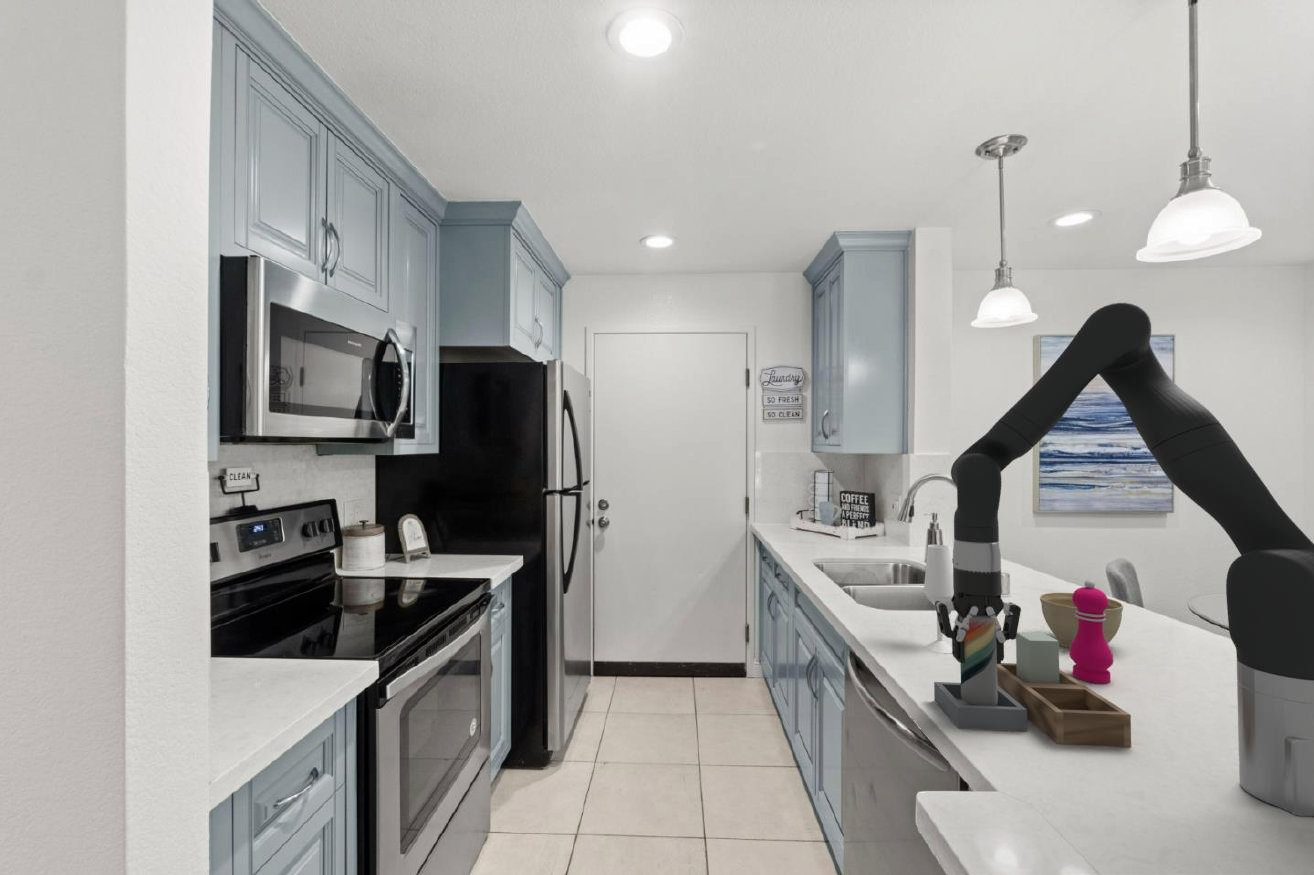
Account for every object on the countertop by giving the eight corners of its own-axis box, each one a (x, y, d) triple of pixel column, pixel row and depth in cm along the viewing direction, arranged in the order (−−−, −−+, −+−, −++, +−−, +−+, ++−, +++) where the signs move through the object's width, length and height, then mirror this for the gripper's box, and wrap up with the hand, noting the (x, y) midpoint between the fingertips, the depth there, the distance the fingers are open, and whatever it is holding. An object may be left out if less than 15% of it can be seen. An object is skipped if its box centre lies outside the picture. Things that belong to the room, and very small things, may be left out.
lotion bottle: (965, 692, 109) (963, 582, 109) (1000, 700, 105) (998, 586, 106) (957, 702, 105) (955, 588, 105) (994, 711, 101) (991, 592, 101)
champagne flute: (918, 646, 141) (917, 545, 142) (935, 642, 145) (934, 543, 145) (945, 655, 136) (943, 549, 136) (962, 649, 139) (960, 546, 140)
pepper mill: (1121, 686, 118) (1119, 584, 118) (1080, 683, 119) (1078, 583, 119) (1101, 672, 125) (1100, 576, 125) (1063, 670, 126) (1061, 575, 127)
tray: (1027, 731, 99) (1027, 709, 99) (958, 728, 100) (958, 707, 100) (996, 703, 110) (996, 683, 110) (934, 700, 111) (934, 681, 111)
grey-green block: (1059, 707, 108) (1058, 641, 108) (1030, 706, 108) (1029, 640, 109) (1044, 696, 113) (1043, 632, 113) (1016, 695, 113) (1015, 632, 114)
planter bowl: (1055, 631, 153) (1054, 588, 153) (1133, 647, 140) (1132, 601, 140) (1029, 644, 143) (1028, 598, 143) (1111, 662, 130) (1110, 613, 131)
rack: (1131, 746, 94) (1130, 714, 94) (1057, 743, 95) (1056, 711, 95) (1052, 690, 116) (1052, 664, 116) (993, 688, 117) (992, 662, 117)
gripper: (942, 569, 102) (943, 668, 102) (1030, 570, 101) (1032, 671, 101) (926, 561, 110) (928, 653, 110) (1008, 562, 109) (1010, 655, 108)
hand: (978, 661), depth 105 cm, fingers closed on lotion bottle, 5 cm apart
